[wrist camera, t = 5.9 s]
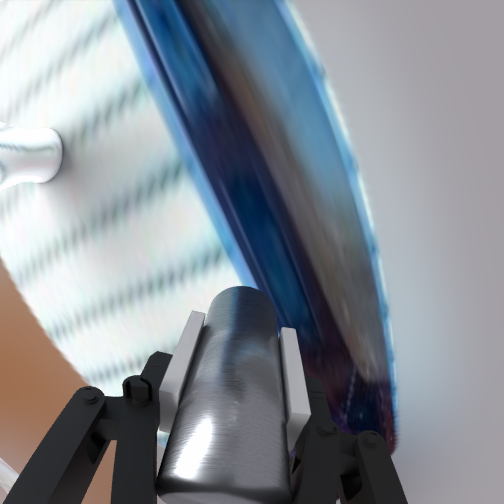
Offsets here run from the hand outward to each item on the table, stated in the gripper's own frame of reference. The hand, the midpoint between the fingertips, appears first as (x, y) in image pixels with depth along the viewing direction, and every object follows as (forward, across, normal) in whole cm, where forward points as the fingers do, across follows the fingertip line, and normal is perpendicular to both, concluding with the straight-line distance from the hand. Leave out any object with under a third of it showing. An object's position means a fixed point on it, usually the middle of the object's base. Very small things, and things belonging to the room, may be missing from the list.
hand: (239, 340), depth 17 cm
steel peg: (+3, 0, 0) cm, 3 cm away
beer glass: (+12, -24, +8) cm, 28 cm away
